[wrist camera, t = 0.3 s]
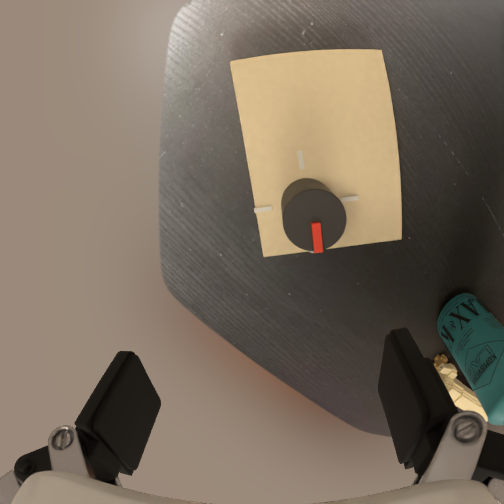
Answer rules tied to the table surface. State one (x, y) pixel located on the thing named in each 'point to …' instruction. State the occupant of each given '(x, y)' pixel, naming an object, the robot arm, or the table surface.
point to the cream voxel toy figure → (457, 387)
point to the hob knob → (312, 215)
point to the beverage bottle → (476, 350)
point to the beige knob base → (321, 139)
